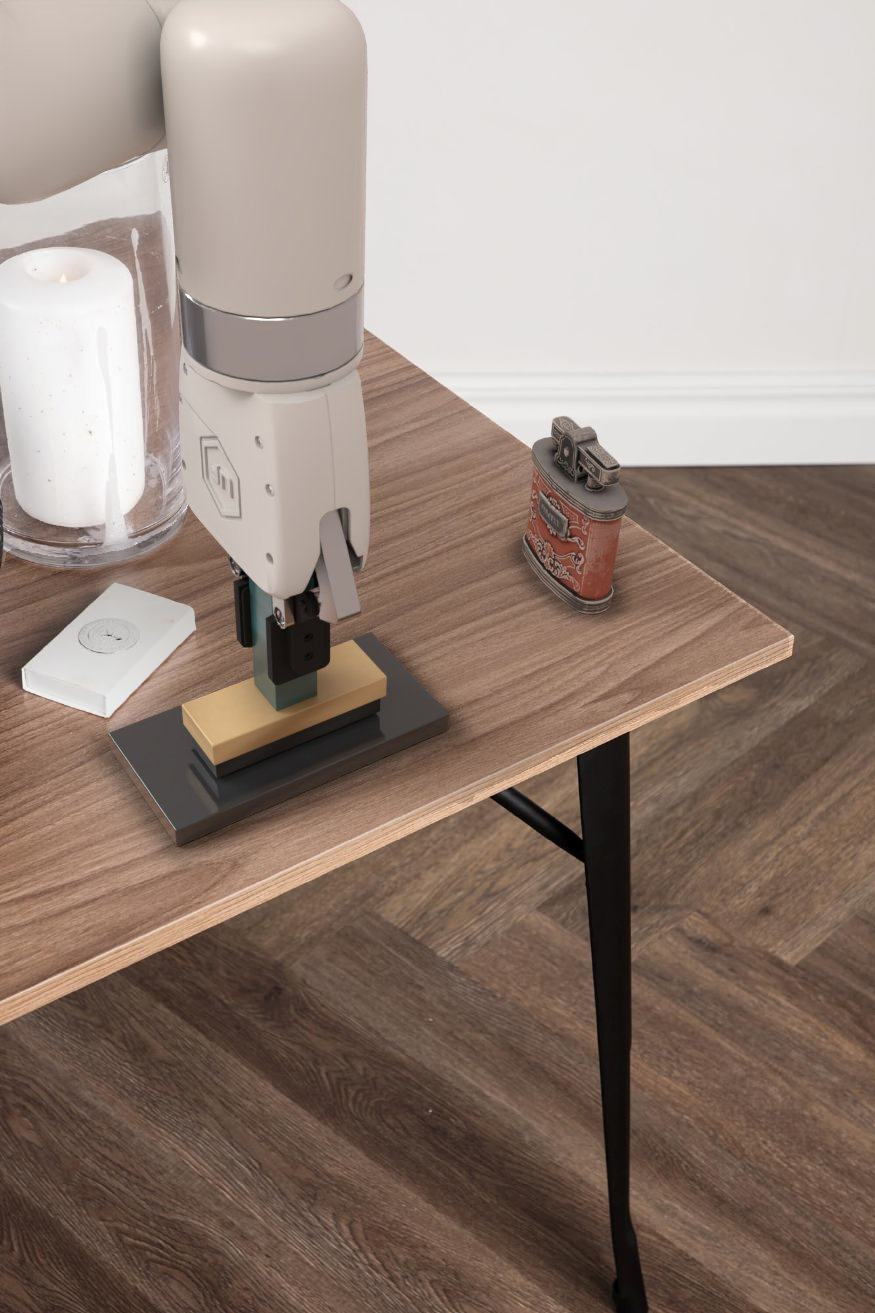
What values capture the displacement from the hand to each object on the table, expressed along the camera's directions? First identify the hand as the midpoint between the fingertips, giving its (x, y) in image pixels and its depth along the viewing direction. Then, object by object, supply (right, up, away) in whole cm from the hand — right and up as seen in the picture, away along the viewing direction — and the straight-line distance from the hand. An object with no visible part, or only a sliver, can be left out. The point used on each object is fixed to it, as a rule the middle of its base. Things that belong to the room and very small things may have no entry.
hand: (283, 652), depth 70 cm
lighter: (+16, +5, +17) cm, 23 cm away
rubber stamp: (0, -4, +3) cm, 5 cm away
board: (-1, -5, +5) cm, 7 cm away
